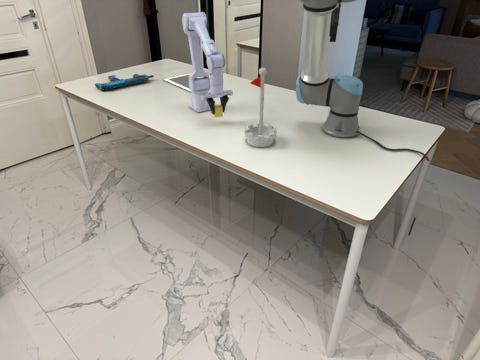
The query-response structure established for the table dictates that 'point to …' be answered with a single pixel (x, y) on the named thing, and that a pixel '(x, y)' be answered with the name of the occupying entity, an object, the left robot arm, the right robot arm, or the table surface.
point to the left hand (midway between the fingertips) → (217, 112)
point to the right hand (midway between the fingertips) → (331, 39)
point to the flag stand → (260, 120)
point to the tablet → (180, 81)
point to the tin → (218, 111)
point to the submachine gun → (122, 81)
